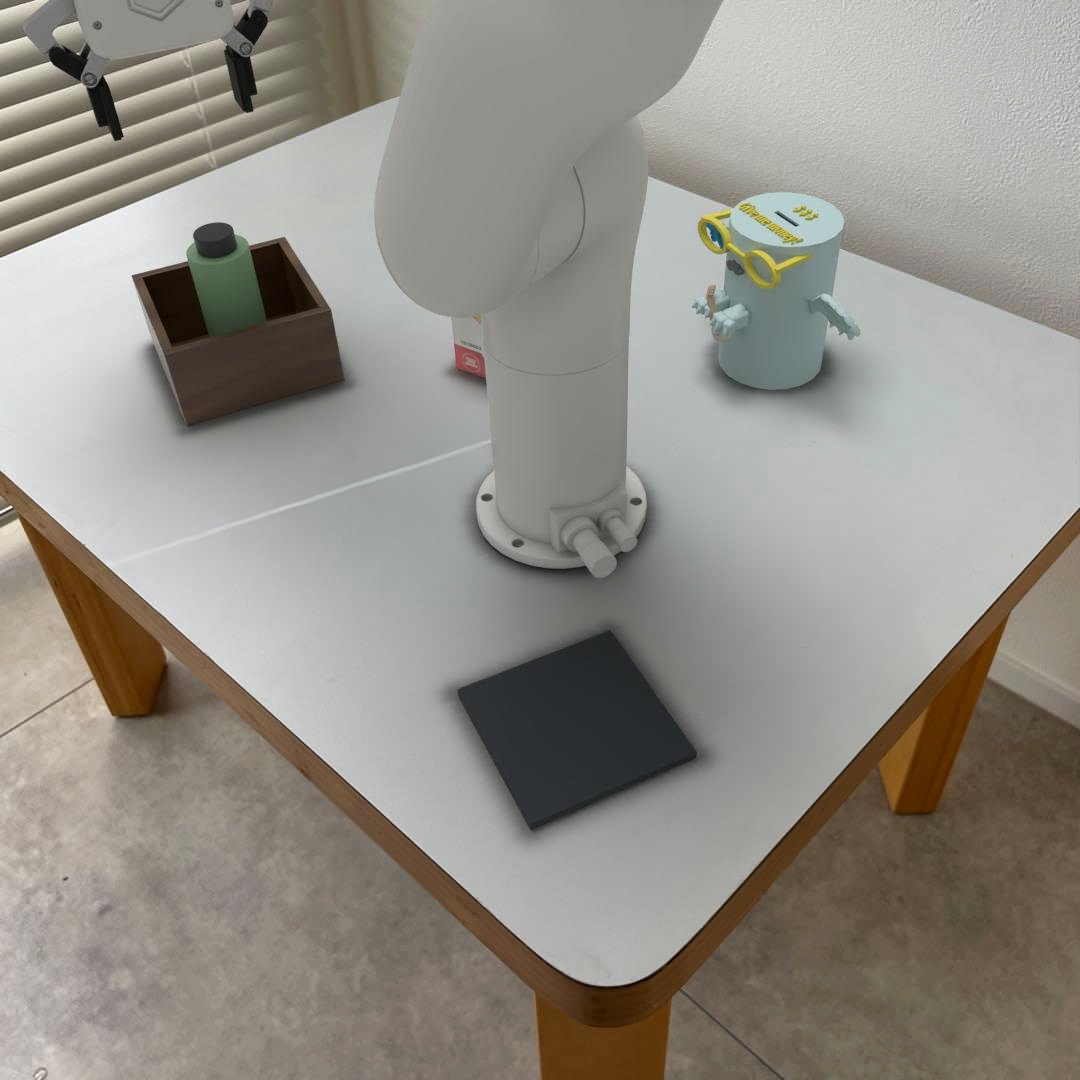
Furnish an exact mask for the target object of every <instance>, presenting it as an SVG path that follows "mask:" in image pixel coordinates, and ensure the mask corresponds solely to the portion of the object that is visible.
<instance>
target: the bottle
mask: <svg viewBox="0 0 1080 1080" xmlns="http://www.w3.org/2000/svg"><path fill="white" fill-rule="evenodd" d="M192 239H193V241H194V242H192V243H191V244H190V245H189V246H188V248H187V249H186V252H185V253H186V254H185V256H186V259H187V261H188V263H189V266H190V270H191V273H192V277H193V281H194V284H195V288H196V291H197V295H198V298H199V302H200V305H201V309H202V312H203V316H204V320H205V323H206V327H207V330H208V334H209V337H213V336H217V335H220V334H224V333H228V332H231V331H235V330H239V329H242V328H246V327H250V326H253V325H257V324H261V323H264V322H267V319H266V315H265V311H264V307H263V302H262V298H261V294H260V290H259V286H258V281H257V277H256V273H255V269H254V265H253V260H252V256H251V252H250V248H249V246H250V244H249V242H248V240H247V239H246V238H245V237H244V236H241V235H239V234H235V230H234V227H233V226H232V225H231V224H229V223H227V222H223V221H222V222H221V221H219V222H218V221H215V222H210V223H206V224H202V225H200V226H198V227H197V228H196V229H195V230H193V234H192Z"/></svg>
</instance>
